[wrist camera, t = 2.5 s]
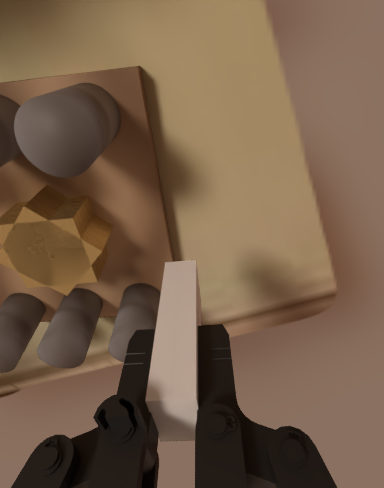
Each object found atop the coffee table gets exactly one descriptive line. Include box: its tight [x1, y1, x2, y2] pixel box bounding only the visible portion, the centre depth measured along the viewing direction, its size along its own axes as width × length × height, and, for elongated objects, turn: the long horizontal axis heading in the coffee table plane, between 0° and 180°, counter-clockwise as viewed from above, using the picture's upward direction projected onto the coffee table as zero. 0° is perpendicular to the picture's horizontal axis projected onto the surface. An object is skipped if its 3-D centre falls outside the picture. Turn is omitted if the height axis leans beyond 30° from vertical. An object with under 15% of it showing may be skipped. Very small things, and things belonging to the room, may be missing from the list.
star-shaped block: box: [0, 185, 113, 296], centre depth 19 cm, size 7×7×3 cm
